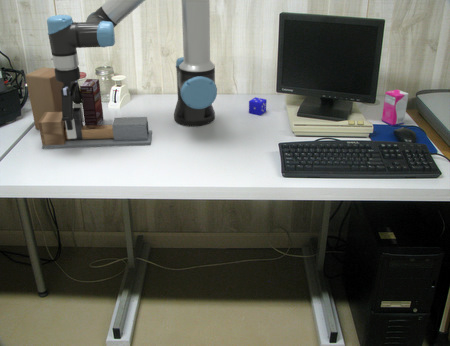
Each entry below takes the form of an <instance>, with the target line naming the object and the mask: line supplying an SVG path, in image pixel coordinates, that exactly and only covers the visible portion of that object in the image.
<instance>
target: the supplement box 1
mask: <svg viewBox="0 0 450 346" xmlns="http://www.w3.org/2000/svg"><path fill="white" fill-rule="evenodd" d="M79 88H80V91H81V95H82V99H81V100H84V103H81V104H82V110H83V117H84V126H90V125H102V124H103V122H104V120H105V119H104V111H103V110H104V109H103V103H102V94H101V86H100V79H99V78H86V80H85V81H84V82H83V83H82V84H81V85H79Z"/></svg>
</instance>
